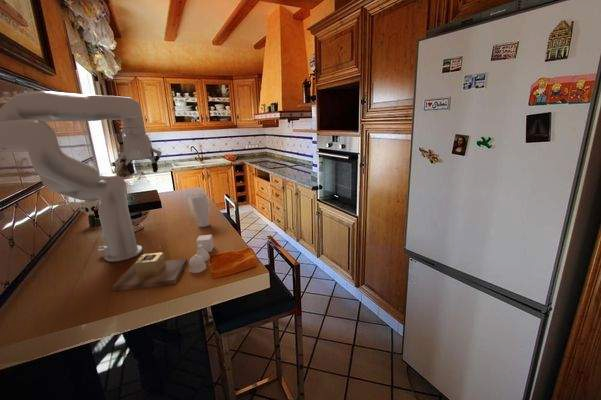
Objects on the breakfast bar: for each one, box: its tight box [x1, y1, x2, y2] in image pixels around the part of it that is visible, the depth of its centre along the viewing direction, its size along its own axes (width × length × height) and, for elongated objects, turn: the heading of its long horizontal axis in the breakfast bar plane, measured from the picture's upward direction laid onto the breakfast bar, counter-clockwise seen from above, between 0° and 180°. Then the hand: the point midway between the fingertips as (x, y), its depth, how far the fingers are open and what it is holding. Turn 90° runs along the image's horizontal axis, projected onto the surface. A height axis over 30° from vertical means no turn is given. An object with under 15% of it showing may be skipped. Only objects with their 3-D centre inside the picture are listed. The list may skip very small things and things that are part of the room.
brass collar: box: [133, 251, 166, 278], centre depth 91 cm, size 6×6×5 cm
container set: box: [188, 234, 215, 274], centre depth 101 cm, size 20×5×6 cm, turn 8°
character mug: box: [78, 200, 101, 227], centre depth 146 cm, size 11×7×13 cm, turn 107°
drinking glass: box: [191, 193, 210, 228], centre depth 134 cm, size 7×7×15 cm
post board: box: [111, 256, 188, 292], centre depth 91 cm, size 18×14×6 cm
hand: (143, 172), depth 122 cm, fingers open, 9 cm apart
